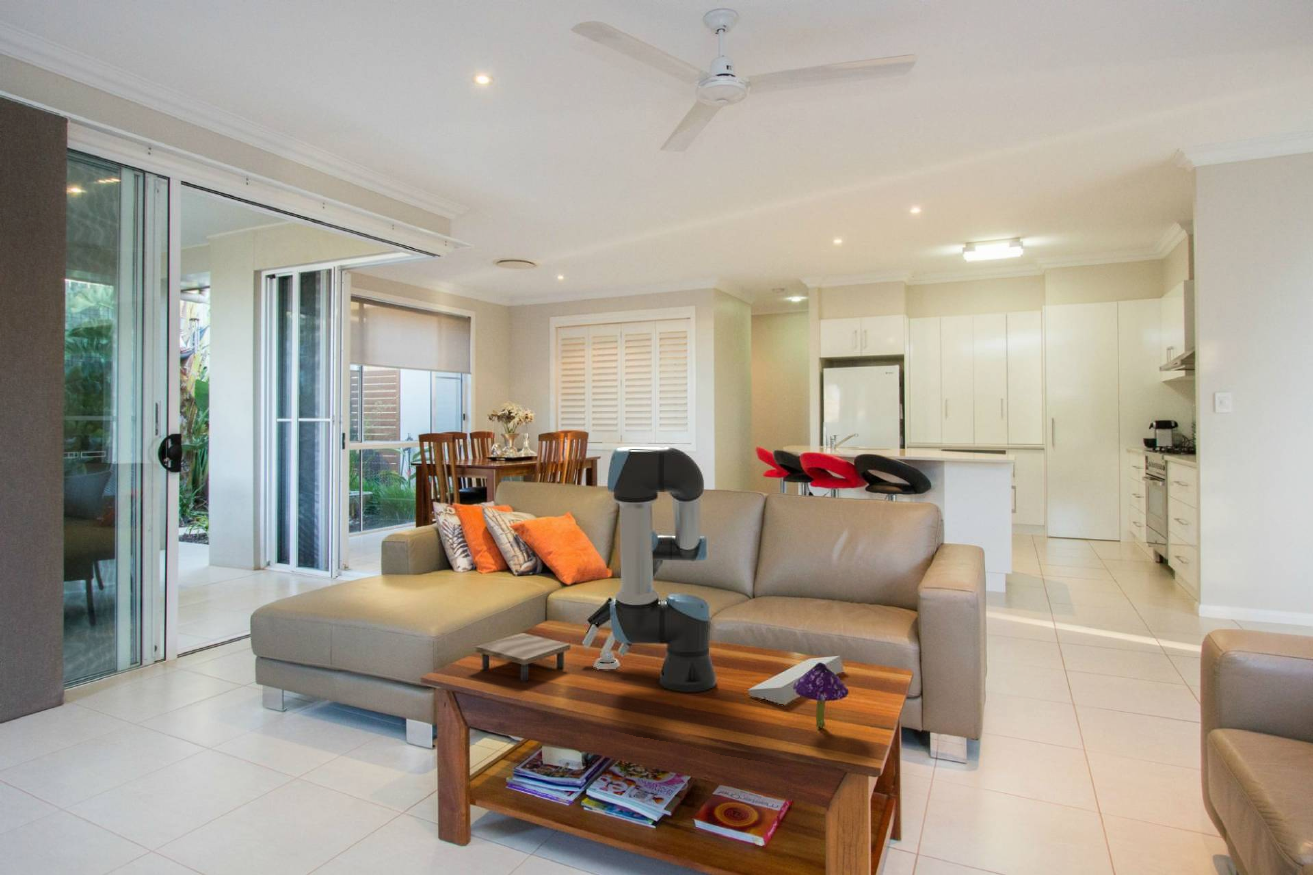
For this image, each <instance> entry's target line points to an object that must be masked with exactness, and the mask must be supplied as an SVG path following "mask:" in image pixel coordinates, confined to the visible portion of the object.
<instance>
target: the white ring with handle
mask: <svg viewBox="0 0 1313 875" xmlns="http://www.w3.org/2000/svg"><path fill="white" fill-rule="evenodd" d="M616 641H617V640H616V639H615V638H614V635H613V632H612V631H611V632H610V634H608V637H607V638H606V640H605V643H604V645H603V647H602V649H601V652H600V656H599V657H600V658H597V659H596V660H595V662H594V664H593V668H594V667H596V668H597V669H596V668H595V669H596V670H599V669H614V670H617V669H618V668H617V667H619V666H620V662H619V659H617V658H615V652H613V651H612V648H613V646H614V644H615V642H616ZM599 662H604V663H599ZM611 662H614V663H611ZM620 667H621V666H620ZM620 667H619V668H620ZM616 668H617V669H616Z"/></svg>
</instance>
